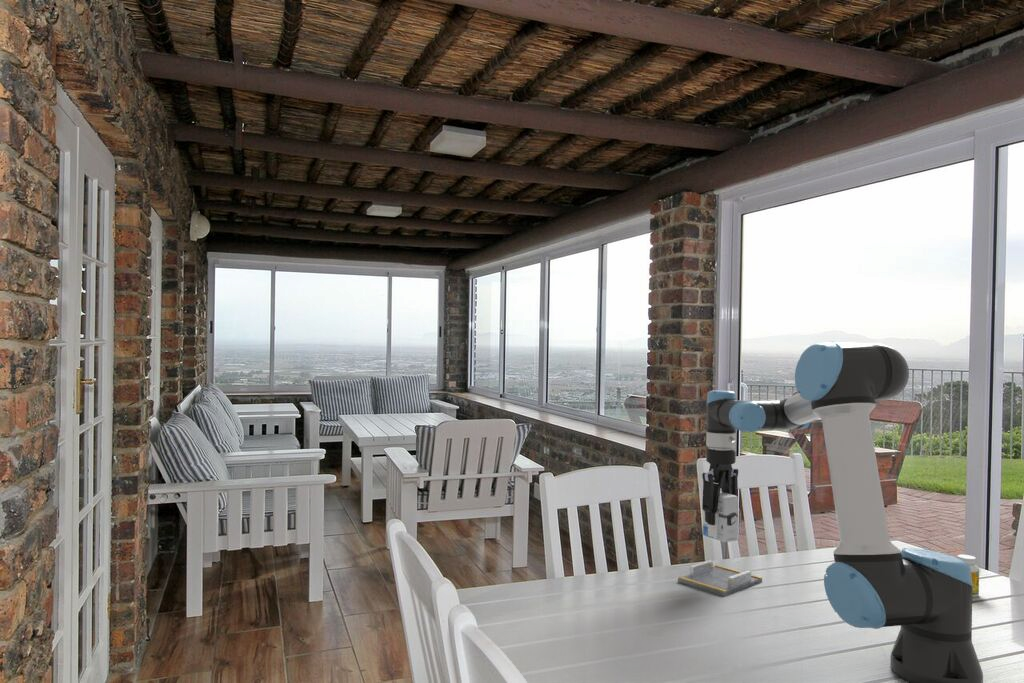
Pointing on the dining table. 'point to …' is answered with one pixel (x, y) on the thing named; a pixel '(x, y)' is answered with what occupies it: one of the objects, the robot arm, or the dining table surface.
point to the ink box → (725, 518)
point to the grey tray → (718, 578)
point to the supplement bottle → (972, 572)
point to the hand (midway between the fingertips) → (720, 534)
